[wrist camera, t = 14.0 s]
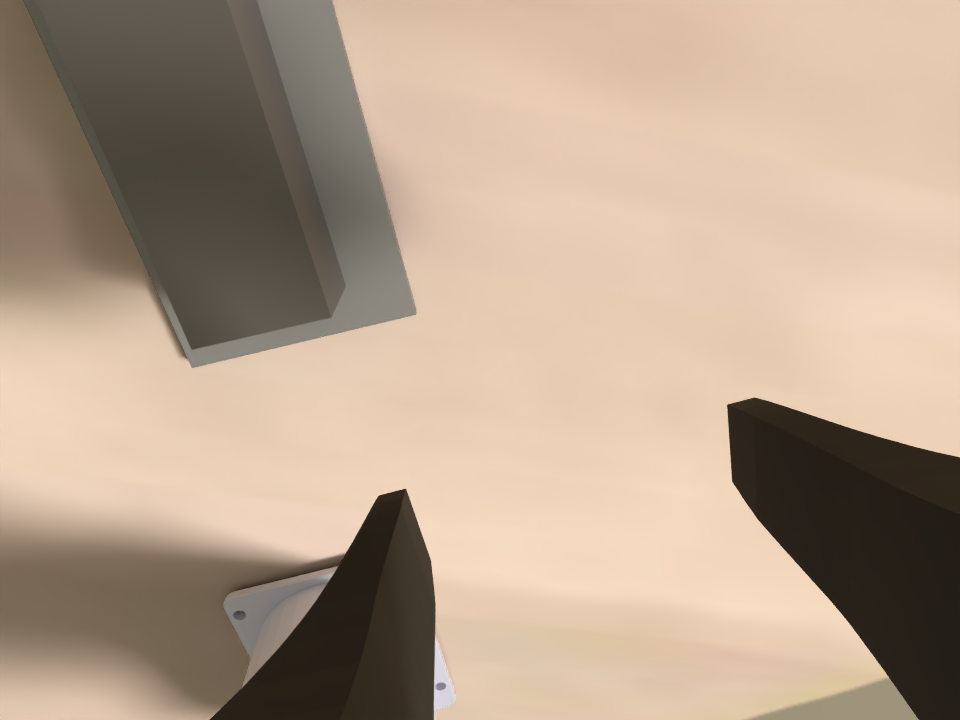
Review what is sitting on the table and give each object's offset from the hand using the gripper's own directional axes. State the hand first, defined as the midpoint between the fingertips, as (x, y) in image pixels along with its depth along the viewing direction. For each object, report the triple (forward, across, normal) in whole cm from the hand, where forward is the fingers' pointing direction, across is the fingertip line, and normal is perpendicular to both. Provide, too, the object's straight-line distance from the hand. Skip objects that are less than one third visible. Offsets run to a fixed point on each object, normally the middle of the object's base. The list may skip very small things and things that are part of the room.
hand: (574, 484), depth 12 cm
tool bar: (+9, +7, -9) cm, 14 cm away
